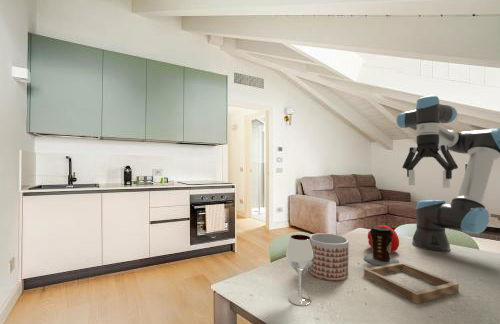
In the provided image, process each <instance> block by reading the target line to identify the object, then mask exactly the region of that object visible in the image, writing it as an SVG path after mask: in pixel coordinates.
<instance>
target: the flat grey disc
mask: <svg viewBox="0 0 500 324" xmlns="http://www.w3.org/2000/svg"><path fill="white" fill-rule="evenodd" d="M363 259H364V261H366V262H367V263H370V264H371V265H373V266H374V265H375V266H383V265H388V264H394V263H399V262H400V261H399V260H398V259H396V258H395V257H392V256H390V261H389V262H380V261H376V260H374V259H373V254H372V253H368V254H364V256H363Z"/></svg>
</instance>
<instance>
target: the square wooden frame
mask: <svg viewBox="0 0 500 324" xmlns="http://www.w3.org/2000/svg"><path fill="white" fill-rule="evenodd" d="M398 272H405V273H407V274H409V275H412V276H415V277H416V278H419V279H422V280H424V281H425V282H428V283H430V284H432V285H436V286H432V287H430V288H429V287H427V288H425V289H421V290H414V289H411V288H409V287H407V286H405V285H403V284H401V283H399V282H397V281H395V280H393V279H391V278H388V277H387V276H384V275H387V274H388V275H389V274H392V273H398ZM363 276H364V277H365V278H367V279H369V280H371V281H373V282H375V283H377V284H379V285H380V286H383V287H384V288H387V289H388V290H390V291H392V292H394V293H396V294H397V295H400V296H401V297H403V298H405V299H408V300H410V301H411V302H414V303H416V304H421V303H426V302H429V301H433V300H435V299H439V298H443V297H446V296H450V295H453V294H458V293H459V290H460V289H459V286H460V285H459V283H456V282H454V281H452V280H449V279H446V278H444V277H441V276H439V275H436V274H434V273H431V272H428V271H425V270H423V269H421V268H417V267H415V266H412V265H410V264H407V263H405V262H402V261H401V262H400V261H399V263H394V264H388V265H383V266H378V265H376V266H373V267H368V268H367V267H366V268H364V269H363Z"/></svg>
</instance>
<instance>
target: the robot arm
mask: <svg viewBox="0 0 500 324" xmlns="http://www.w3.org/2000/svg"><path fill="white" fill-rule="evenodd" d="M457 117H458V111H457V110H456V108H455V107H453V106H452V105H448V104H443V103H440V99H439V97H438V95H428V96H422V97H420V98H418V99H417V100H416V107H415V109H414V110H409V111H404V112H401V113H398V115H397V117H396V124H397V126H398V128H401V129H407V128H410V129H411V130H414V132H415V131H416V135H417V136H416V146H417V147H413V146H411V147H409V148H408V149H409V150H408V151H409V152H408V155H406V156H407V157H406V159H404V160H405V161H404V162H403V165H402V169H405V170H406V171H407V172H406V177H407V178H408V186H415V184H416V182H415V180H416V178H415V177H416V176H415V171H416V170H415V167H416V166H417V165H418V163H419V162H420V161H421V160H422V159H424V158H433V159H434V160H436V161H437V162H438V164H439V165H440V166H441V167H442V168H443V169H444V170H442V188H444V189H445V188H447V189H449V188H450V187H451V186H450V181H451V179H453V170H454V171H455V170H457V169H458V168H459V166H458V164H457V162H456V161H455V160H454V158H453V156H452V154H451V152H454V153H457V154H464V155H465V154H467V155H468V156H469V159H468V163H467V166H466V170H465V172H464V175H463V178H462V182H461V184H460V188H459V190H458V191H459V192H458V194H457V196H456V197H453V198H452V200H451V202H450V203H446V201H445V200H443V199H442V200H441V199H427V200H425V199H424V200H423V199H422V200H418V201H417V202H416V208H415V210H416V211H415V212H416V213H415V214H416V218H415V220H416V221H415V222H416V227H415V228H416V229H415V232H414V234H413V237H412V239H411V240H412V245H414V246H415V247H419V248H421V249H426V250H429V251H430V250H431V251H437V252H447V251H450V250H451V245H450V242H449V239H448V237H447V233H446V229H448V230H452V231H457V232H463V233H465V234H474V235H478V234H481V233H483V232H484V231H485V230H486V228H487V227H488V225H489V222H490V219H489V218H490V213H489V211H488V210H487V209H486V206H485V205H484V203H483V199H484V196H485V193H486V190H487V186H488V183H489V179H490V177H491V176H490V175H491V172H492V169H493V165H494V161H495V160H498V159H499V158H500V128H488V129H479V130H468V131H455V130H453V129H451V130H450V129H447V128H445V127H444V126H442V125H440V124H449V123H452V122H453V121H455V120H456V118H457ZM439 151H440V152H441V154H440V153H439ZM441 155H442V156H441ZM443 157H444V158H443Z"/></svg>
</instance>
